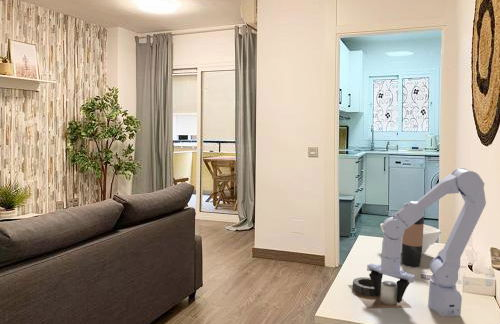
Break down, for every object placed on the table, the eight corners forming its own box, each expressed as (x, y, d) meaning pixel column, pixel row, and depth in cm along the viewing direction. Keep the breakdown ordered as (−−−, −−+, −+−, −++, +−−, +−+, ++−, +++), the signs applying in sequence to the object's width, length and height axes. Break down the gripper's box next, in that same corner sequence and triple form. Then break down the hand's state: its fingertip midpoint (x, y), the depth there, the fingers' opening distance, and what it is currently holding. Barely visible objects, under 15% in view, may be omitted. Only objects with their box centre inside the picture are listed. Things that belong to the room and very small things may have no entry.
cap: (399, 304, 130) (400, 286, 129) (384, 304, 129) (385, 286, 129) (392, 297, 135) (393, 280, 134) (377, 298, 134) (378, 280, 134)
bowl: (372, 247, 194) (373, 222, 193) (409, 243, 203) (410, 220, 202) (407, 262, 174) (408, 235, 173) (446, 257, 182) (448, 231, 181)
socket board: (411, 310, 128) (412, 299, 128) (367, 311, 127) (368, 300, 126) (385, 286, 146) (386, 277, 146) (347, 287, 145) (347, 277, 145)
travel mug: (422, 263, 173) (425, 216, 171) (419, 268, 166) (422, 219, 164) (402, 260, 177) (406, 213, 175) (399, 265, 170) (402, 216, 168)
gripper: (419, 259, 129) (416, 301, 130) (375, 248, 138) (372, 288, 140) (410, 264, 123) (407, 308, 125) (365, 252, 133) (362, 293, 134)
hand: (388, 298), depth 132 cm, fingers open, 6 cm apart
